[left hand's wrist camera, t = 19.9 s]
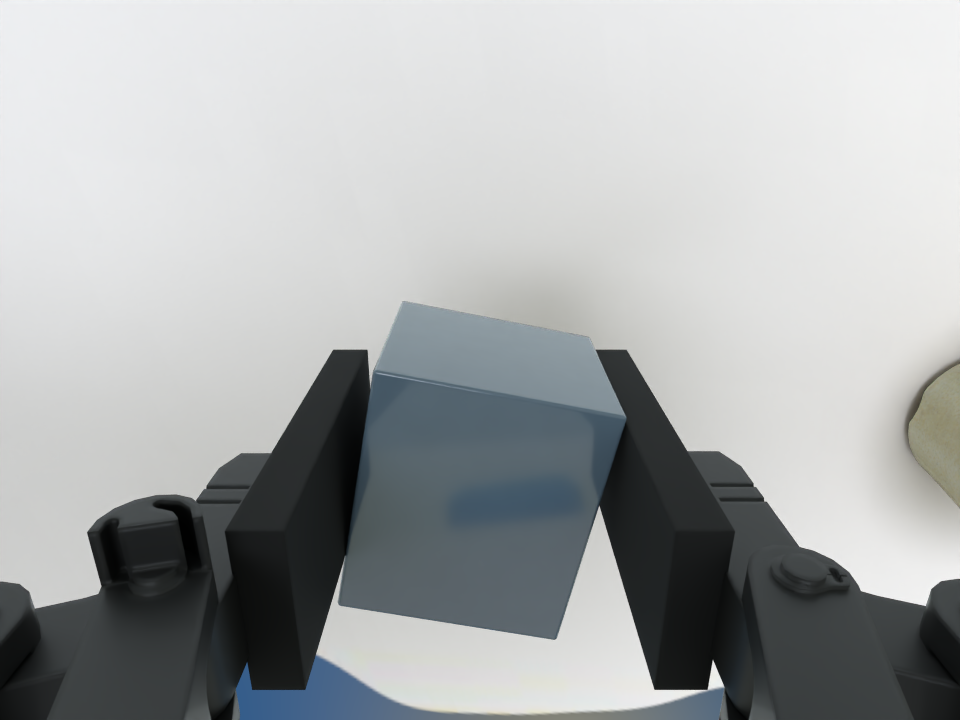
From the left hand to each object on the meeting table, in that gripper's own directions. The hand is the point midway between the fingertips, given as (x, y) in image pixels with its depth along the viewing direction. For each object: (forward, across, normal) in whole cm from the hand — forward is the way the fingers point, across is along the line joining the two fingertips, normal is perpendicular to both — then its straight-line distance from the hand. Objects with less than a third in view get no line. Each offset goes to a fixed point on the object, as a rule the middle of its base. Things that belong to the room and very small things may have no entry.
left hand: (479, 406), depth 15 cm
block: (0, 0, 0) cm, 1 cm away
